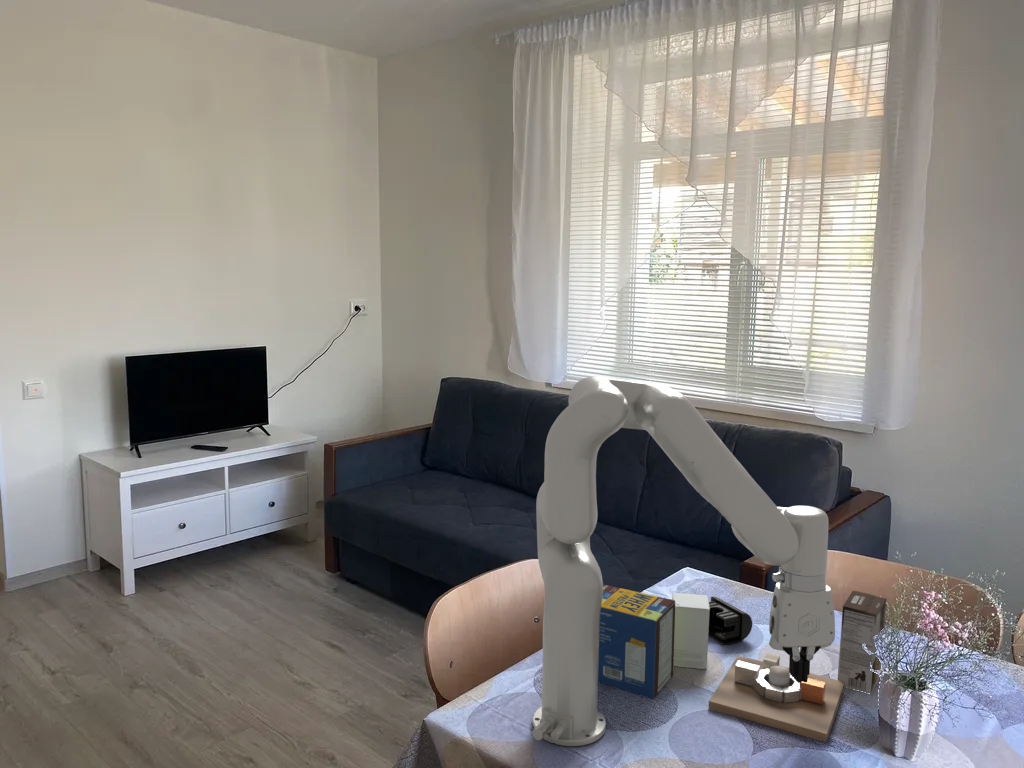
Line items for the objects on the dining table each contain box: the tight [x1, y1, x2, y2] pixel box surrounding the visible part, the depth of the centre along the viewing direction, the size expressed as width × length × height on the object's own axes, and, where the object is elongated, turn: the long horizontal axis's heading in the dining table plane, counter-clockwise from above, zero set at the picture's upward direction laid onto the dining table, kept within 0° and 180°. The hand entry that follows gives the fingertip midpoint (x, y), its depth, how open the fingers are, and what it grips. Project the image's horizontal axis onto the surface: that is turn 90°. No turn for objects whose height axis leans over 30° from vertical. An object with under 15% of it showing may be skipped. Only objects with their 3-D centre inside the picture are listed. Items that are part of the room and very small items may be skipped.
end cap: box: [708, 596, 753, 647], centre depth 172 cm, size 10×7×7 cm
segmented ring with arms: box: [734, 661, 825, 705], centre depth 146 cm, size 16×8×3 cm, turn 60°
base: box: [708, 652, 845, 743], centre depth 146 cm, size 20×20×6 cm
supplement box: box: [671, 592, 710, 670], centre depth 160 cm, size 7×7×13 cm
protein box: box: [598, 584, 675, 700], centre depth 153 cm, size 10×15×16 cm
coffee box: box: [837, 590, 887, 695], centre depth 152 cm, size 9×6×16 cm
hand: (799, 678), depth 139 cm, fingers closed
